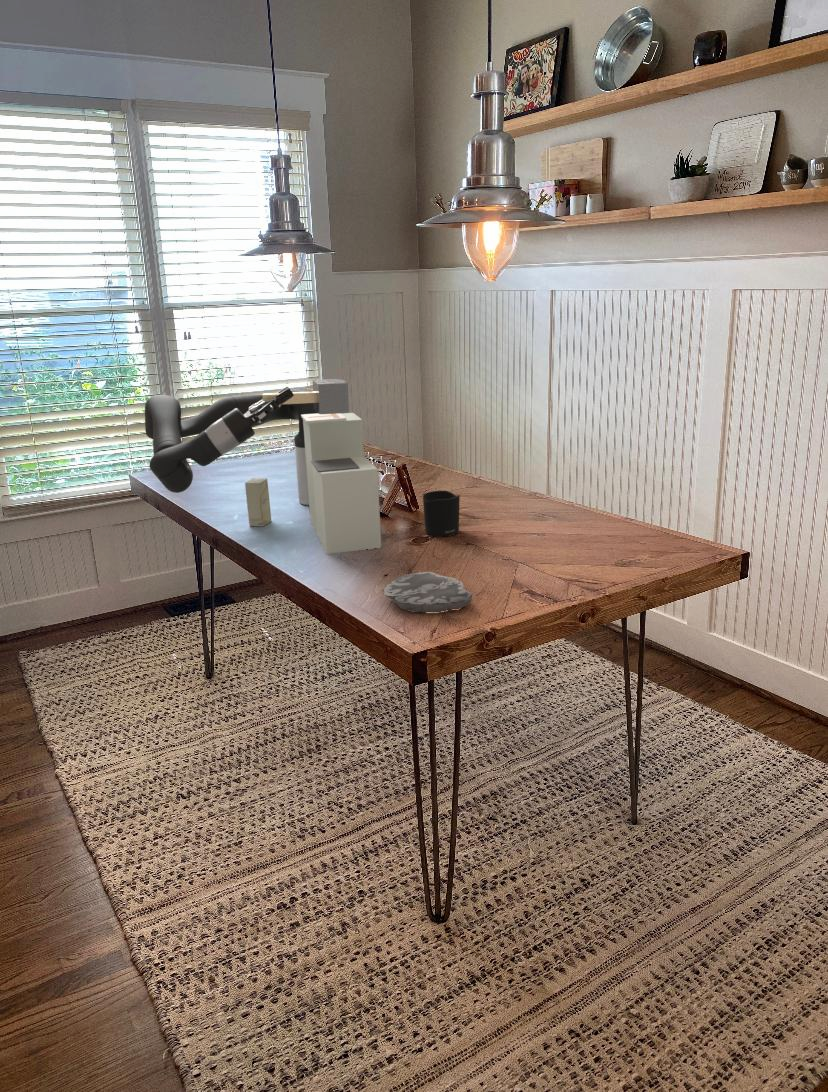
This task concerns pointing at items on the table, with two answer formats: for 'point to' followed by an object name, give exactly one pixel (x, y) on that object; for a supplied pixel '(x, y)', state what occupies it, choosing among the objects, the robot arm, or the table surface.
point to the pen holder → (441, 513)
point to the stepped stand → (341, 483)
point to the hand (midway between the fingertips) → (290, 390)
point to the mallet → (322, 396)
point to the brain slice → (427, 592)
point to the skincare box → (258, 502)
